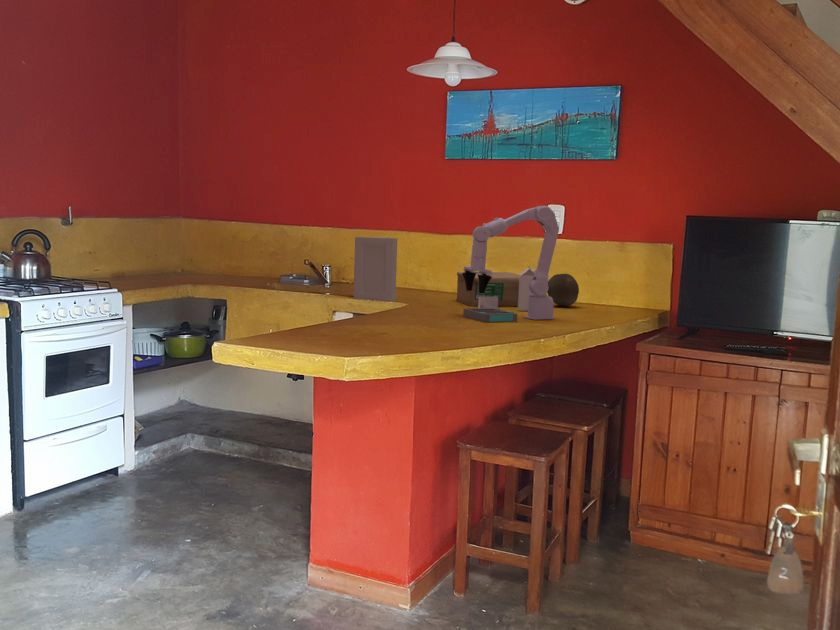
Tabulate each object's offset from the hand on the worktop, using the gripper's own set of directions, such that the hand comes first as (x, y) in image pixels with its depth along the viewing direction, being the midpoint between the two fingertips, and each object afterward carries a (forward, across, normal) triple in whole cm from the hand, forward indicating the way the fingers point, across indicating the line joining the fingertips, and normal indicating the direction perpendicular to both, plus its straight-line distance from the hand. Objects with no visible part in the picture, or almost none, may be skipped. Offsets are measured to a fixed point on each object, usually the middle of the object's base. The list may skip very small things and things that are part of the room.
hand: (475, 291), depth 319 cm
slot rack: (+10, +8, +2) cm, 12 cm away
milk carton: (+9, -7, +36) cm, 38 cm away
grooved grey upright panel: (+12, -69, +2) cm, 70 cm away
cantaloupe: (+8, -11, +62) cm, 64 cm away
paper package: (+10, -33, +39) cm, 52 cm away
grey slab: (+10, -5, +12) cm, 16 cm away
